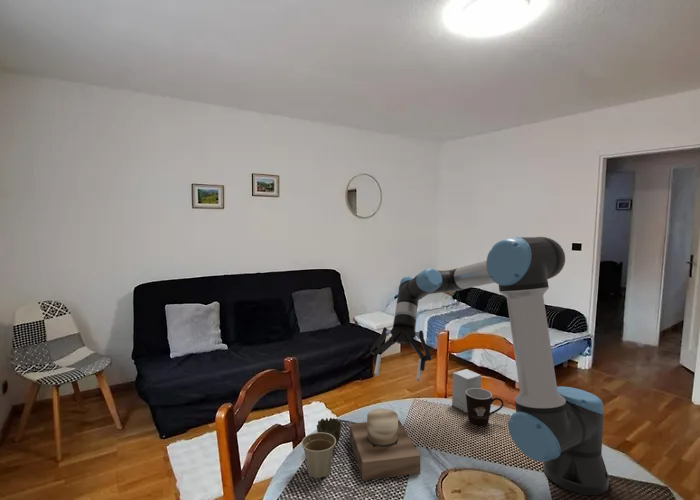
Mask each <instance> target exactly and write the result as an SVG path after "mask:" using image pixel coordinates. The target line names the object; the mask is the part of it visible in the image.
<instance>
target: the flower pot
mask: <svg viewBox="0 0 700 500" xmlns="http://www.w3.org/2000/svg"><path fill="white" fill-rule="evenodd" d="M335 444H336V439H335V437H334V436H333V435H331V434H329V433H322V432H314V433H309V434H308V435H306V436H304V437H303V438H302V440H301V447H302V448H303V451H304V454H305V460H306V466H307V468H306V469H307V472H308V475H309V476H310V477H312V478H313V479H321V478H323V477H324V478H325V477H328V476H329V475H330V473H331V469H332V462H333V461H332V460H333V454H334V450H335V449H334V446H335V447H336V445H337V444H336V445H335ZM333 449H334V450H333Z"/></svg>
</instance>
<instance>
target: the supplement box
mask: <svg viewBox="0 0 700 500" xmlns="http://www.w3.org/2000/svg"><path fill="white" fill-rule="evenodd" d="M481 380H482V374H479V373H477V372H475V371H472V370H469V369H468V368H467V369H461V370H458V371H453V372H452V388H451V389H452V390H451V391H452V395H451V397H452V401H451V402H452V403H451V405H452V406H453V407H455V408H457V409H458V408H459V409H458V410H460V409H461V411H462V410H463V411H462V412H464V413H467V414H468V410H467V401H466V390H467V389H470V388H480V389H482V387H481V386H482V381H481Z"/></svg>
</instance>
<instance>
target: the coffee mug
mask: <svg viewBox="0 0 700 500" xmlns="http://www.w3.org/2000/svg"><path fill="white" fill-rule="evenodd" d="M496 400H497V401H500V402H501V405H500V407H498V408H497V409H495V410H493V411H491V406H492V404H493V402H494V401H496ZM466 401H467V410H468V412H467V418H468V423H469V422H470V423H471V424H470V423H469V424H470V425H472V424H473V425H472V426H474V425H477V426H476V427H478V426H484V427H486V425H487V426H488V425H489V422H490V416H492V415H493V414H495V413H497V412H498V411H500V410H501V409H503V407H504V400H503V399H501V398H500V397H493V393H492V392H491V391H490V390H487V389H484V388H481V389H480V388H470V389H467V390H466Z"/></svg>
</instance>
